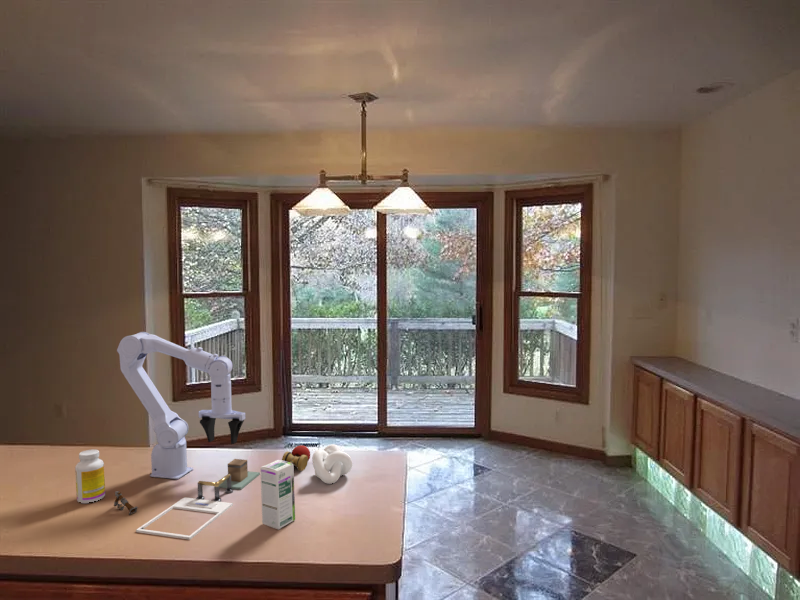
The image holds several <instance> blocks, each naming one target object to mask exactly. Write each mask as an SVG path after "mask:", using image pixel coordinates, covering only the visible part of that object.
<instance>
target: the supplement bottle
mask: <svg viewBox="0 0 800 600" xmlns="http://www.w3.org/2000/svg"><path fill="white" fill-rule="evenodd" d="M78 459H79V462H77V464H76V465H75V467H74V468H75V489H76V501H77V502H78V503H79V502H81V503H80V504H90V503H89V502H93V503H95V502H94V501H96V502H98V500H99V501H100V499H101V500H102V499H103V498H105V496H106V483H105V482H106V480H105V463H104V461H103V459H101V458H100V451H99V450H98V449H87V450H82V451H81V452H79V454H78Z"/></svg>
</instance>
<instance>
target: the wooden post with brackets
mask: <svg viewBox="0 0 800 600" xmlns="http://www.w3.org/2000/svg"><path fill="white" fill-rule="evenodd" d="M114 494H115V495H114V496H115V500H114V501H113V506H114V507H117V510H119V509H120V510H119V511H124V510H125V508H126V509H127V510H128V512H129V513H128V515H129V516H130V515H132V514H134V513H137V511H138V506H133V505H132V504H130V503H129V501H128V499H127V498H126V497H124V496H123V494H122V492H121V491H117V490H115V492H114ZM119 501H120V503H119ZM123 509H124V510H123Z"/></svg>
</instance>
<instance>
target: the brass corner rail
mask: <svg viewBox="0 0 800 600" xmlns="http://www.w3.org/2000/svg"><path fill="white" fill-rule="evenodd" d="M225 480H227V488H225V492H224V493H226V494H232V493H233V492H234V489H231V475H230V474H228V473H227V474H226V475H224V476H223V477H222V478H221V479H219V480H218V481H214V482H213V481H205V480H198V482H197V497H196V498H195V499H198V500H200V499H202V500H205V496H204V493H203V492H204V491H203V486H208V487H214V498H213V500H212V501H218V502H222V498H221V497H220V487H219V485H220V484H221V483H223V482H224V481H225Z"/></svg>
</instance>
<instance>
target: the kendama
mask: <svg viewBox="0 0 800 600" xmlns="http://www.w3.org/2000/svg"><path fill="white" fill-rule="evenodd" d="M310 458H311V451H310V449H309V448H308V447H307V446H305V445H301V444H300V445H297V446H295V447H294V448H293V449H292V450H291V451H285V452H284V453H283V455H282V457H281V460H283V461H287V462H290V463H293V466H295V467H296V468H297V470H298V471H300V472H303V471H304V470H305V469H306V468H307V465H308V463H309V460H310Z"/></svg>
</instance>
